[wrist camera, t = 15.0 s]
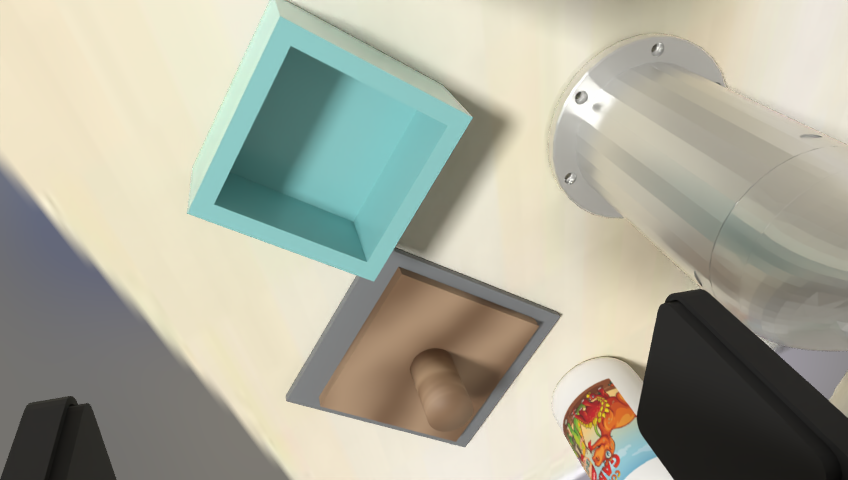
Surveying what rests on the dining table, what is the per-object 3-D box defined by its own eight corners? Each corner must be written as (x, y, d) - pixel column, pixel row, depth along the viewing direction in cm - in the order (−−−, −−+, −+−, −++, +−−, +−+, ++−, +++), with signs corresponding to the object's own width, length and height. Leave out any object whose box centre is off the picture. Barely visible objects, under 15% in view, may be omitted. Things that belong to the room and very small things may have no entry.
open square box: (442, 84, 41) (472, 117, 36) (357, 232, 44) (374, 281, 39) (272, -7, 36) (280, 16, 31) (192, 167, 39) (187, 213, 34)
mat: (557, 311, 52) (560, 316, 51) (463, 441, 56) (465, 447, 56) (377, 240, 45) (378, 245, 44) (285, 395, 49) (286, 401, 49)
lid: (534, 318, 51) (567, 369, 46) (452, 432, 55) (475, 491, 49) (398, 266, 46) (419, 317, 40) (318, 397, 49) (329, 459, 44)
